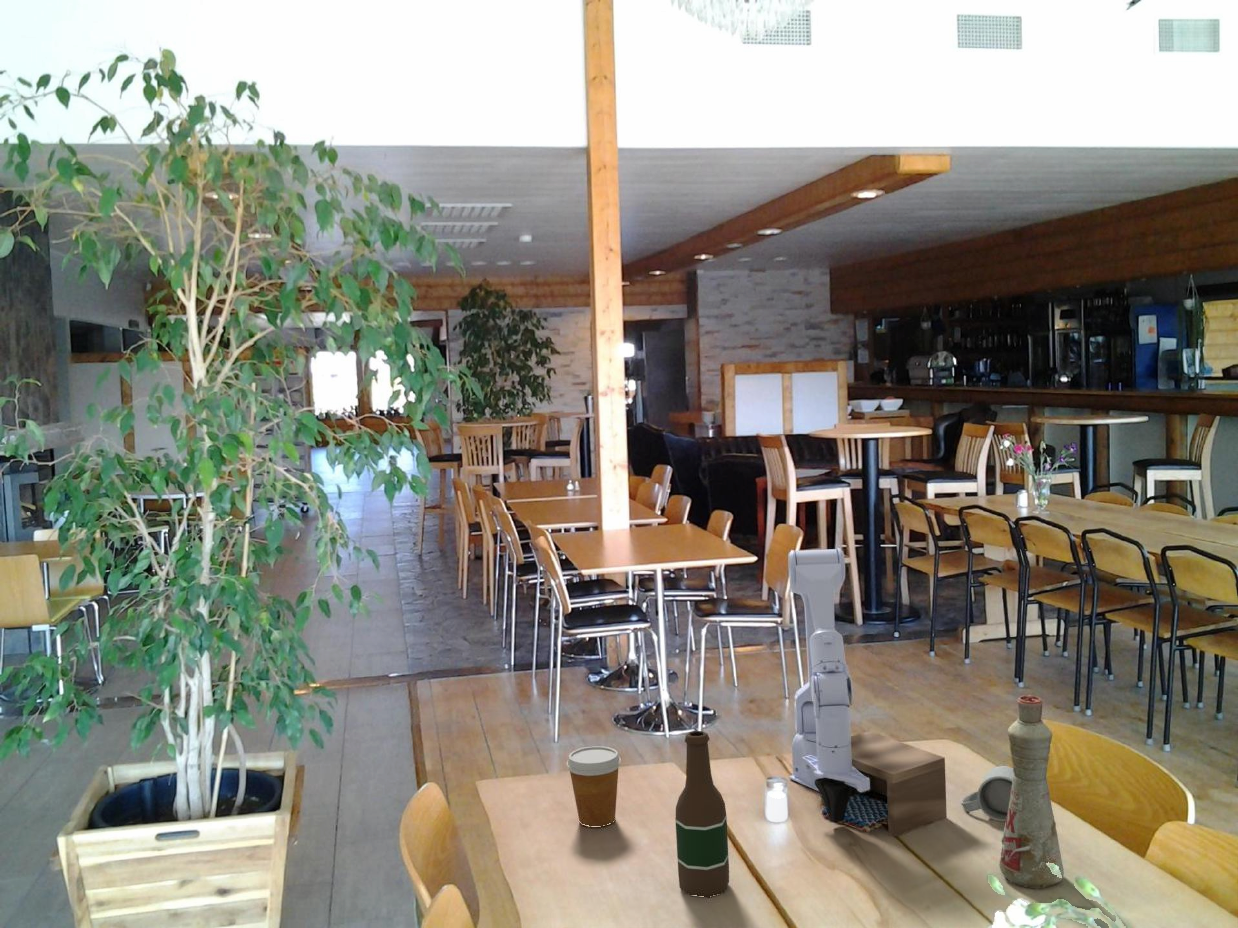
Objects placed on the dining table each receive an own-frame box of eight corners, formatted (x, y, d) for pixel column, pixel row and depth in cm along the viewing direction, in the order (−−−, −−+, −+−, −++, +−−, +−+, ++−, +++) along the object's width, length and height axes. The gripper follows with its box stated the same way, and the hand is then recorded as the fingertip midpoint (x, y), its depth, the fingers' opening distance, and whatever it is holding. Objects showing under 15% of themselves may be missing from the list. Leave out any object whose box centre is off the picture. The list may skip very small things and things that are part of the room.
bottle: (1057, 896, 166) (1053, 706, 163) (993, 883, 171) (988, 699, 168) (1069, 871, 173) (1065, 690, 171) (1007, 860, 178) (1003, 683, 176)
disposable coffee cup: (561, 828, 200) (557, 761, 199) (583, 807, 209) (579, 743, 207) (612, 834, 196) (608, 766, 195) (632, 812, 205) (628, 747, 204)
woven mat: (906, 817, 198) (906, 806, 197) (867, 836, 191) (866, 824, 191) (858, 801, 206) (858, 790, 205) (819, 819, 199) (818, 807, 199)
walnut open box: (821, 803, 204) (819, 745, 203) (871, 786, 211) (869, 731, 210) (895, 836, 189) (893, 774, 188) (946, 817, 195) (944, 757, 194)
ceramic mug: (1028, 805, 199) (1026, 761, 198) (1025, 823, 191) (1023, 778, 190) (964, 800, 203) (962, 757, 202) (959, 818, 195) (957, 774, 194)
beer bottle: (675, 877, 179) (667, 727, 176) (725, 873, 179) (717, 723, 177) (682, 901, 171) (674, 744, 169) (734, 896, 172) (726, 739, 169)
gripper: (787, 736, 197) (790, 812, 198) (845, 759, 185) (849, 840, 186) (818, 727, 201) (821, 802, 202) (878, 749, 188) (881, 829, 190)
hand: (836, 820), depth 194 cm, fingers closed
